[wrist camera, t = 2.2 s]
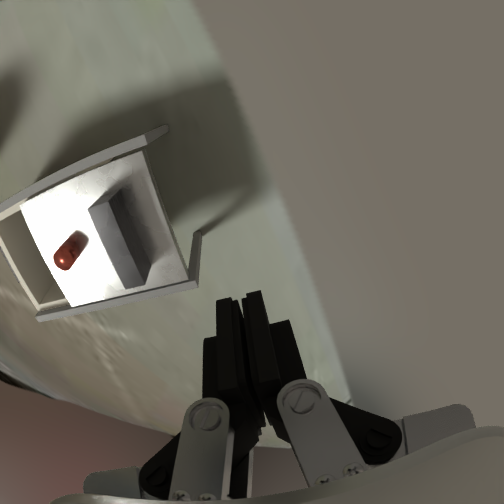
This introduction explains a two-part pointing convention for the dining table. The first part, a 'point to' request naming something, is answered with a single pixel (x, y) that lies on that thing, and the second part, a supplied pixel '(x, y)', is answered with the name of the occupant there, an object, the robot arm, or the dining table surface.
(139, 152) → the lid
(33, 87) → the dining table surface
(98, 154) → the white box with rails
